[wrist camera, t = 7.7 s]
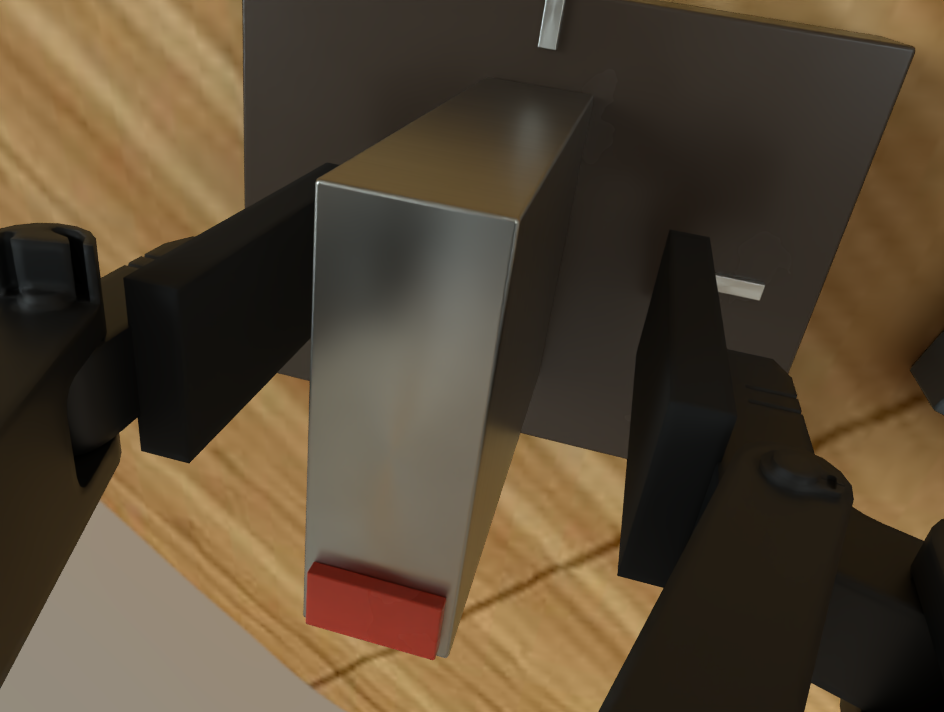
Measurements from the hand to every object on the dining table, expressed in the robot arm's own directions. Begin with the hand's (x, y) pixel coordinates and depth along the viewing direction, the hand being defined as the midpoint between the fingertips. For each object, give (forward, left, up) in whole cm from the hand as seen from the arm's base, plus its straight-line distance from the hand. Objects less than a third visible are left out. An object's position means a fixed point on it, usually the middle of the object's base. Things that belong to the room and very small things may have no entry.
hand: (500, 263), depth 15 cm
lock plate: (0, 0, -4) cm, 4 cm away
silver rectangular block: (0, 0, -2) cm, 2 cm away
